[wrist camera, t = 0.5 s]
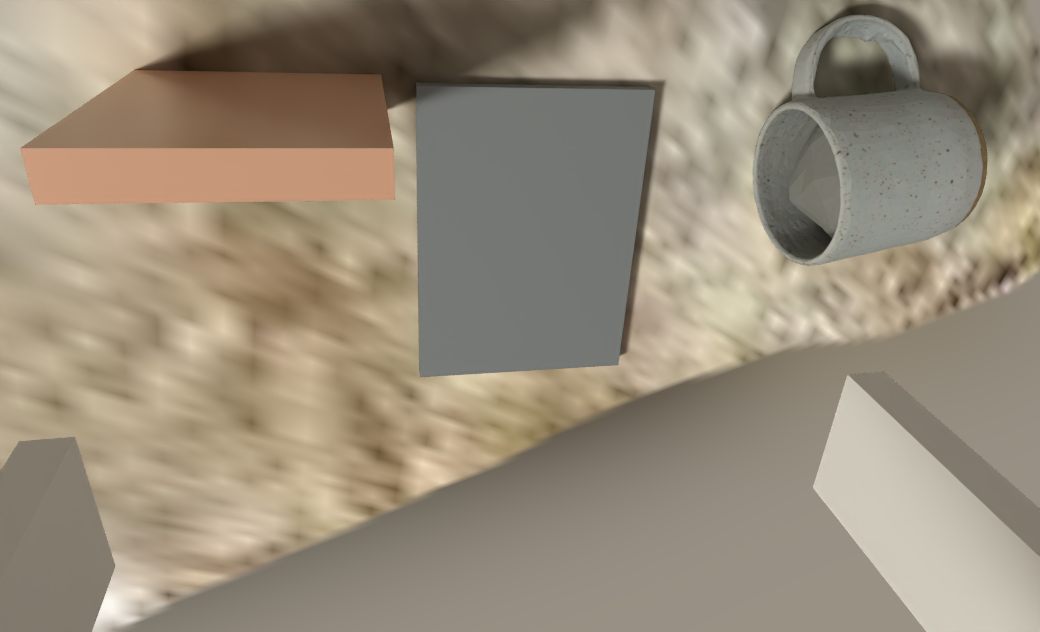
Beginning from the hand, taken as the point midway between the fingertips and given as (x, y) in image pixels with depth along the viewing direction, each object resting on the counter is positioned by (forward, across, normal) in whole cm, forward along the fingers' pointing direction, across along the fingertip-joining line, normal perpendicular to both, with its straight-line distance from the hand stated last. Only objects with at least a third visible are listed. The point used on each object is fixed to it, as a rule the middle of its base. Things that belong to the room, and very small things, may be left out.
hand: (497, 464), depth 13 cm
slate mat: (+24, +6, -6) cm, 25 cm away
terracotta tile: (+24, -6, +1) cm, 25 cm away
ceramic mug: (+24, +21, 0) cm, 32 cm away
